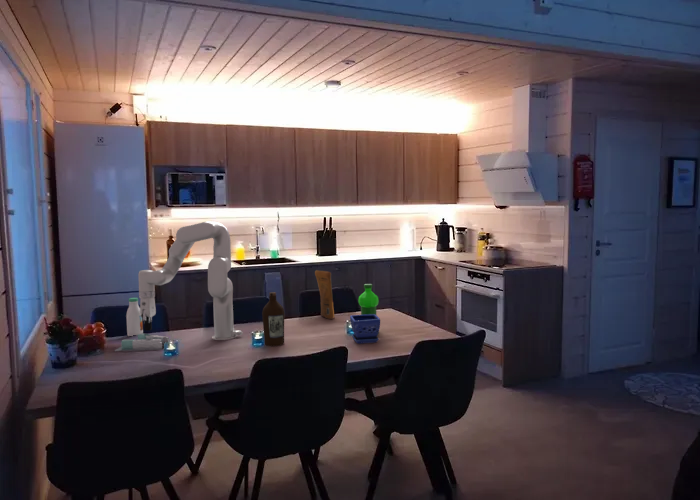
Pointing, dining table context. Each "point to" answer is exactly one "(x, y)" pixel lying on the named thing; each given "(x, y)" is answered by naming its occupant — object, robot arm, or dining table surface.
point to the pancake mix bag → (325, 293)
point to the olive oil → (273, 322)
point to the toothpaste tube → (150, 337)
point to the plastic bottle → (368, 301)
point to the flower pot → (365, 328)
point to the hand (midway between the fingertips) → (148, 330)
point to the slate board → (141, 349)
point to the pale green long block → (143, 344)
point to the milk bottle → (134, 318)
